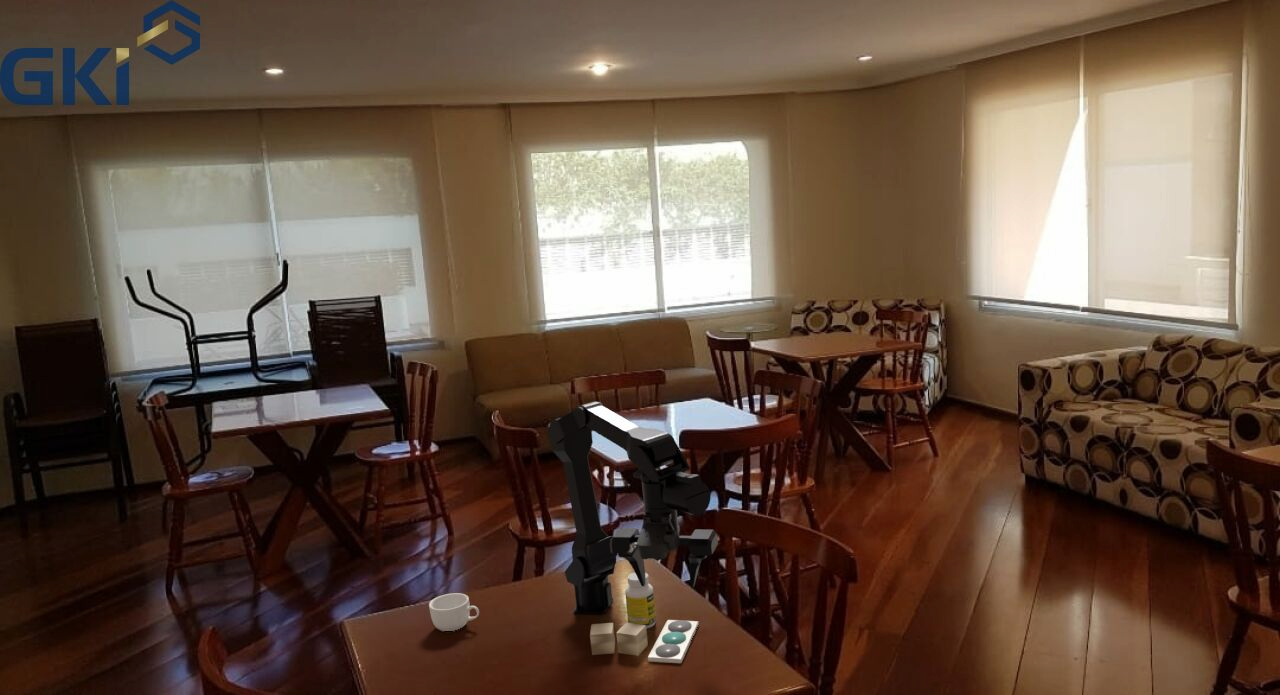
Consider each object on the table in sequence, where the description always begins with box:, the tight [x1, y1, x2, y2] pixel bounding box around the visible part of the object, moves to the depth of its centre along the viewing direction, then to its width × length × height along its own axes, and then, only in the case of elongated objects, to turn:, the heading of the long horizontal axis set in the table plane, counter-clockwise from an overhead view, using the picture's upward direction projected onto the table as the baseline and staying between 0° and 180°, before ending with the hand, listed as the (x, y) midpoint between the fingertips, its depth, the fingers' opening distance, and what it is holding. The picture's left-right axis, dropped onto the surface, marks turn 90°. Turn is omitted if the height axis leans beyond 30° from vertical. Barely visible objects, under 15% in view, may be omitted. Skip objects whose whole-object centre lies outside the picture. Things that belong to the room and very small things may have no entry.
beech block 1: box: [589, 622, 616, 656], centre depth 165 cm, size 4×4×4 cm
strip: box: [647, 619, 699, 664], centre depth 165 cm, size 6×14×1 cm, turn 163°
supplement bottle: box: [624, 571, 657, 630], centre depth 173 cm, size 5×5×10 cm
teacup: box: [428, 592, 480, 632], centre depth 179 cm, size 10×8×5 cm
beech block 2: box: [615, 621, 649, 657], centre depth 164 cm, size 4×4×4 cm
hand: (667, 586), depth 163 cm, fingers open, 9 cm apart
